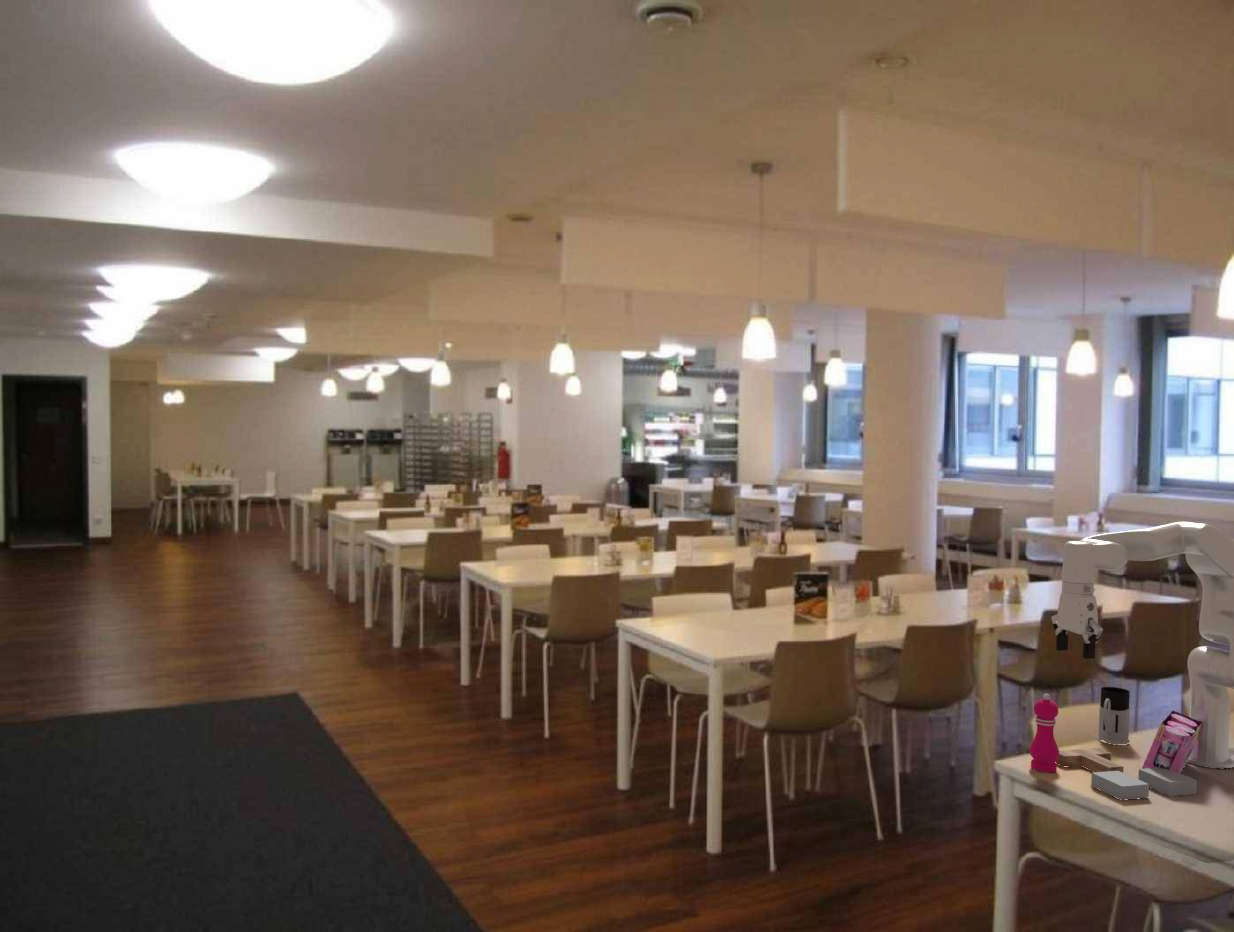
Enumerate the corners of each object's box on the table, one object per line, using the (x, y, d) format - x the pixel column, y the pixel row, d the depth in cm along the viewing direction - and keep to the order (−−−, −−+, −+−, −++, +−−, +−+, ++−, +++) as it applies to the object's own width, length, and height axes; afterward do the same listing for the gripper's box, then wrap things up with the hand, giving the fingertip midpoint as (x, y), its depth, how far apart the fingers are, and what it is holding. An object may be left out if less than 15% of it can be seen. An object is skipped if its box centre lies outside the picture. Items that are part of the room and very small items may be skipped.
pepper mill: (1061, 774, 256) (1064, 698, 255) (1032, 772, 257) (1035, 696, 257) (1054, 766, 263) (1057, 691, 262) (1026, 763, 264) (1029, 689, 264)
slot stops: (1163, 780, 254) (1164, 767, 253) (1196, 794, 244) (1196, 780, 244) (1091, 786, 247) (1091, 772, 247) (1121, 800, 238) (1122, 786, 238)
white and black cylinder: (1133, 741, 288) (1135, 690, 287) (1119, 751, 277) (1122, 698, 277) (1101, 734, 294) (1103, 684, 293) (1086, 744, 283) (1088, 693, 283)
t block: (1098, 758, 270) (1098, 748, 270) (1139, 776, 256) (1140, 765, 256) (1052, 762, 266) (1052, 751, 266) (1091, 780, 252) (1092, 768, 252)
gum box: (1172, 786, 249) (1192, 738, 247) (1139, 771, 254) (1158, 723, 252) (1185, 767, 269) (1203, 722, 267) (1154, 753, 273) (1172, 709, 271)
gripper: (1114, 594, 249) (1111, 661, 250) (1066, 583, 266) (1063, 646, 266) (1090, 594, 247) (1087, 662, 248) (1042, 584, 264) (1040, 647, 264)
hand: (1075, 654), depth 257 cm, fingers open, 9 cm apart
